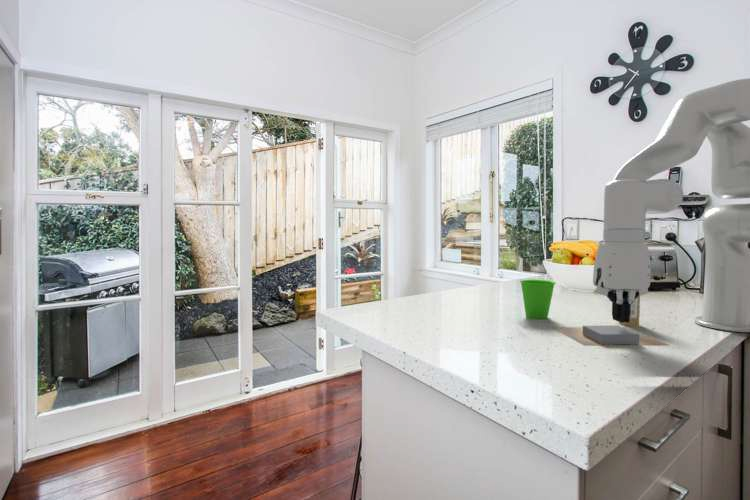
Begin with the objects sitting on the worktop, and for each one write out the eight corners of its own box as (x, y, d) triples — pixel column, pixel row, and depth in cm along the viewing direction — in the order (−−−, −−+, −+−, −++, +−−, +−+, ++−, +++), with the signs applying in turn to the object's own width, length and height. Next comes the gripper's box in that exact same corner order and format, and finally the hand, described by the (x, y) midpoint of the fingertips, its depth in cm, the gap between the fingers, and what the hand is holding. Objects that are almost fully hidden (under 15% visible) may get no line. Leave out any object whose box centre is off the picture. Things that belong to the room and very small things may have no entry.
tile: (617, 325, 84) (582, 325, 84) (639, 334, 77) (601, 334, 77) (617, 334, 85) (582, 334, 85) (639, 344, 78) (601, 344, 78)
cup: (550, 327, 96) (551, 285, 95) (514, 321, 101) (515, 282, 101) (557, 320, 103) (558, 281, 102) (524, 315, 108) (524, 278, 108)
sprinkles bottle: (642, 329, 93) (644, 276, 93) (634, 332, 91) (636, 278, 90) (622, 325, 97) (624, 274, 96) (614, 328, 95) (616, 276, 94)
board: (624, 332, 91) (624, 327, 91) (669, 350, 77) (670, 345, 77) (551, 332, 91) (552, 327, 91) (583, 350, 77) (584, 345, 77)
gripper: (645, 236, 84) (642, 316, 85) (579, 237, 84) (577, 317, 85) (671, 237, 76) (668, 325, 77) (599, 238, 76) (597, 325, 77)
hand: (620, 320), depth 81 cm, fingers closed
